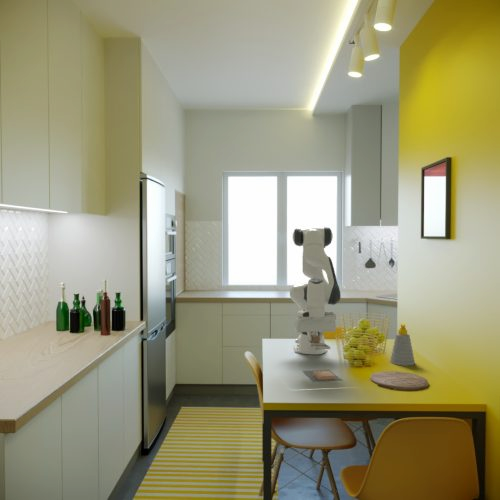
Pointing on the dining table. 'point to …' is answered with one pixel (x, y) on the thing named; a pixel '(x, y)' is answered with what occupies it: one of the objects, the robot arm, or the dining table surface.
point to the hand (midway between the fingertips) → (315, 340)
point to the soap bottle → (402, 349)
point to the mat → (314, 379)
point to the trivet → (399, 380)
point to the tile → (323, 375)
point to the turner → (317, 343)
